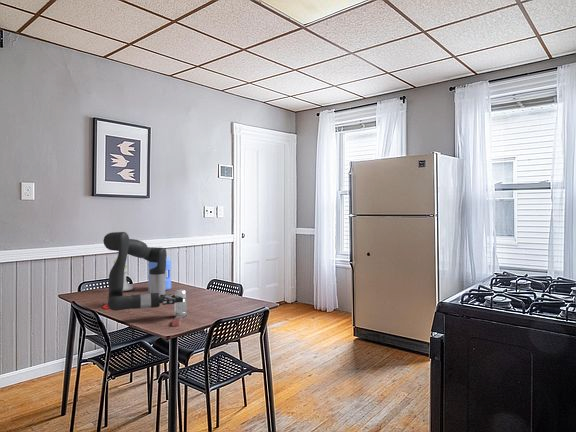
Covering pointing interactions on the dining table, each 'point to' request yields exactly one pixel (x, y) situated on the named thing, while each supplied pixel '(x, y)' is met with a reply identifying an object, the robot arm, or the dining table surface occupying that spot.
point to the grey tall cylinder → (179, 306)
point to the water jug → (168, 267)
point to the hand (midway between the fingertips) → (181, 298)
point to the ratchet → (178, 318)
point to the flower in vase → (126, 285)
